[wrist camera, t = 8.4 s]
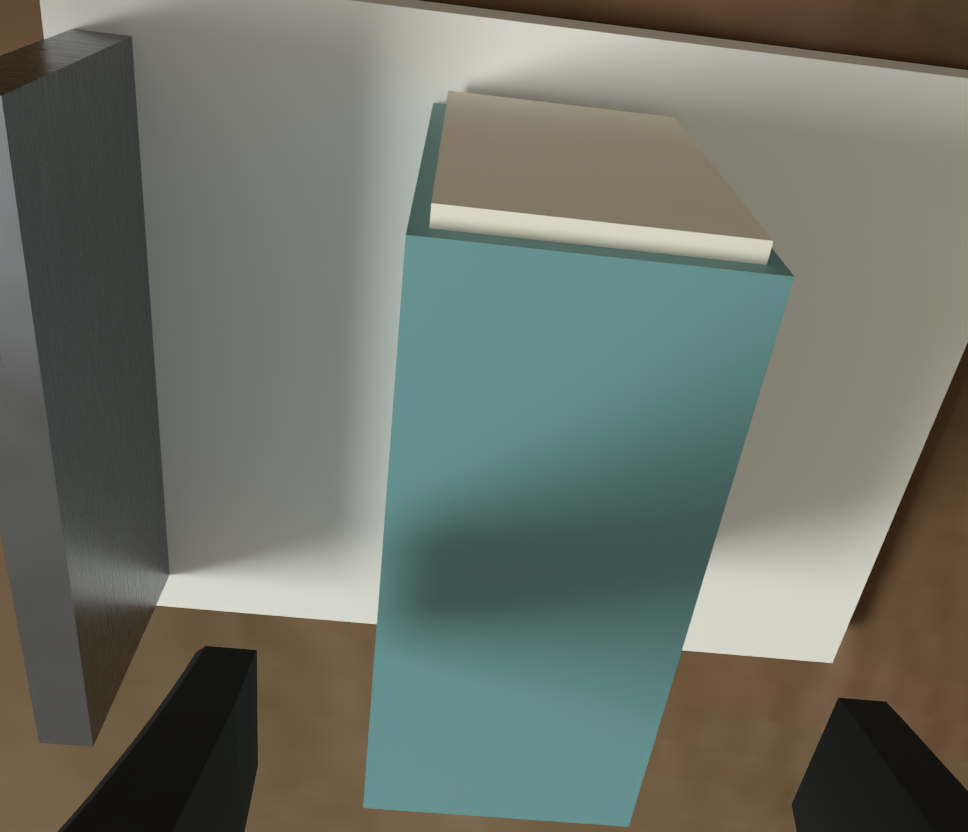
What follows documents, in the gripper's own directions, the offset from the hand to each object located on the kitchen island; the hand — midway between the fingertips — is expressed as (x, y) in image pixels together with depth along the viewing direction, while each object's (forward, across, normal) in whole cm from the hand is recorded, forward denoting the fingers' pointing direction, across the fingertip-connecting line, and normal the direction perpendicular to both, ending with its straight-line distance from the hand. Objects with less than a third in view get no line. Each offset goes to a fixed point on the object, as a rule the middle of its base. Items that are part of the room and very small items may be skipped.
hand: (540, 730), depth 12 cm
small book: (+9, 0, 0) cm, 9 cm away
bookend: (+9, +8, 0) cm, 12 cm away
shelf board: (+10, 0, 0) cm, 10 cm away
